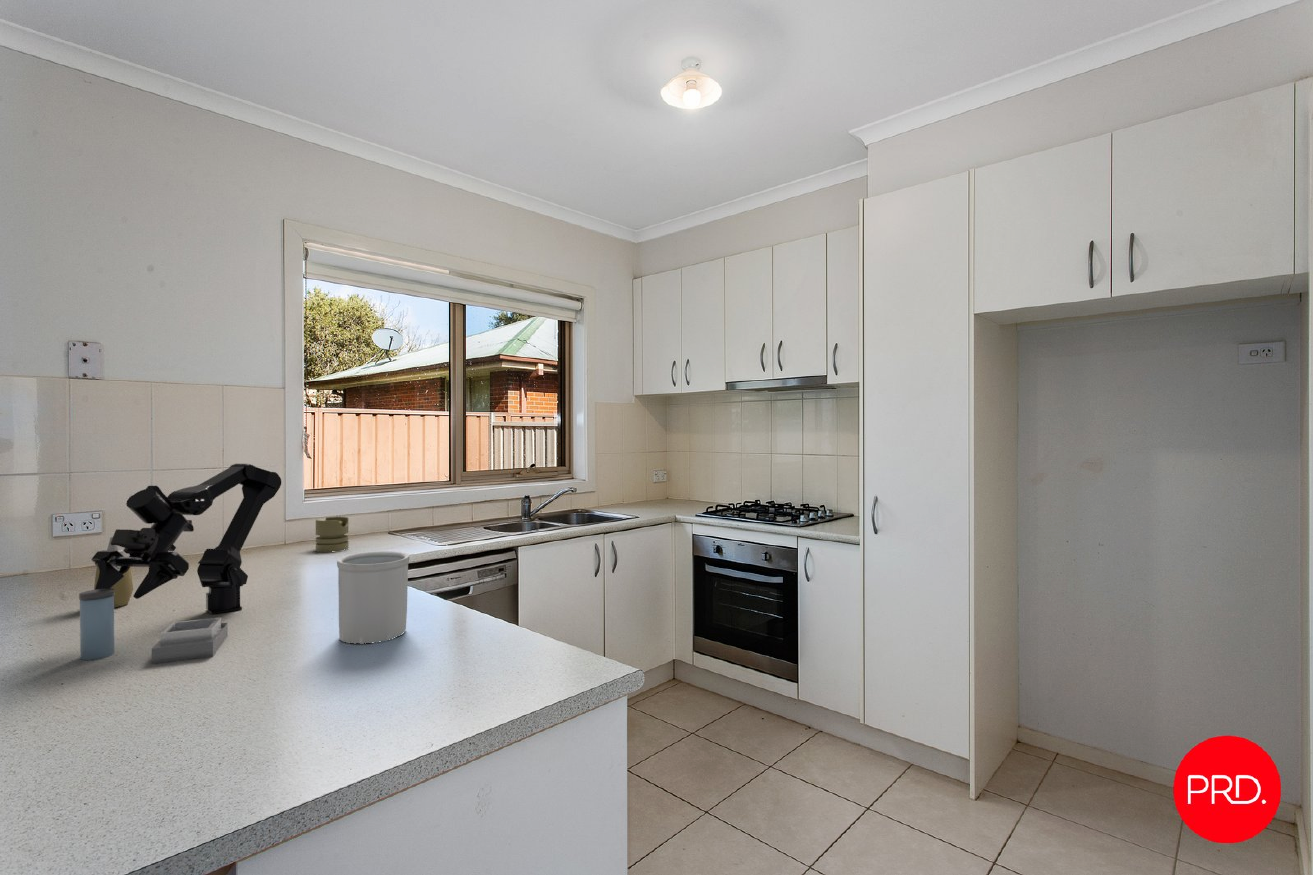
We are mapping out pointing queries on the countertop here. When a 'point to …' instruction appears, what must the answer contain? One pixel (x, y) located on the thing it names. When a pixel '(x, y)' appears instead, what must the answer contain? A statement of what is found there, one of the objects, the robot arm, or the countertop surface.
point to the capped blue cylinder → (96, 623)
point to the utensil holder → (372, 596)
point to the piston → (332, 534)
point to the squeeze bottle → (122, 586)
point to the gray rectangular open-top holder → (190, 640)
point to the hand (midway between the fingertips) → (115, 597)
